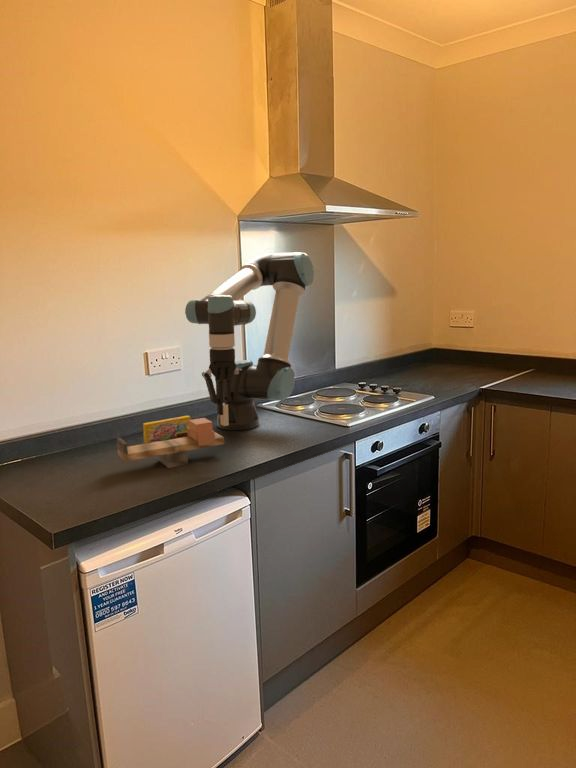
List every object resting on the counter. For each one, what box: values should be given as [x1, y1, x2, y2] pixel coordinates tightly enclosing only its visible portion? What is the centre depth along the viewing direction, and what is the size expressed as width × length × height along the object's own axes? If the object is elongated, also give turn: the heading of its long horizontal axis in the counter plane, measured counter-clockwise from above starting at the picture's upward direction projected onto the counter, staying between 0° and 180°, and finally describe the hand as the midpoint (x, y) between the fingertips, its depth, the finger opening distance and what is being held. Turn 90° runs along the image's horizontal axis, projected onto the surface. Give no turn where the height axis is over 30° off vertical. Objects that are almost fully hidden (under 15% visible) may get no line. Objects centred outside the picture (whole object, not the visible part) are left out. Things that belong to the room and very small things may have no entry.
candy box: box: [142, 414, 192, 444], centre depth 192 cm, size 16×2×8 cm, turn 128°
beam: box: [116, 431, 226, 469], centre depth 174 cm, size 30×8×9 cm, turn 120°
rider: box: [187, 417, 215, 446], centre depth 177 cm, size 5×9×6 cm, turn 30°
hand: (224, 424), depth 181 cm, fingers closed
